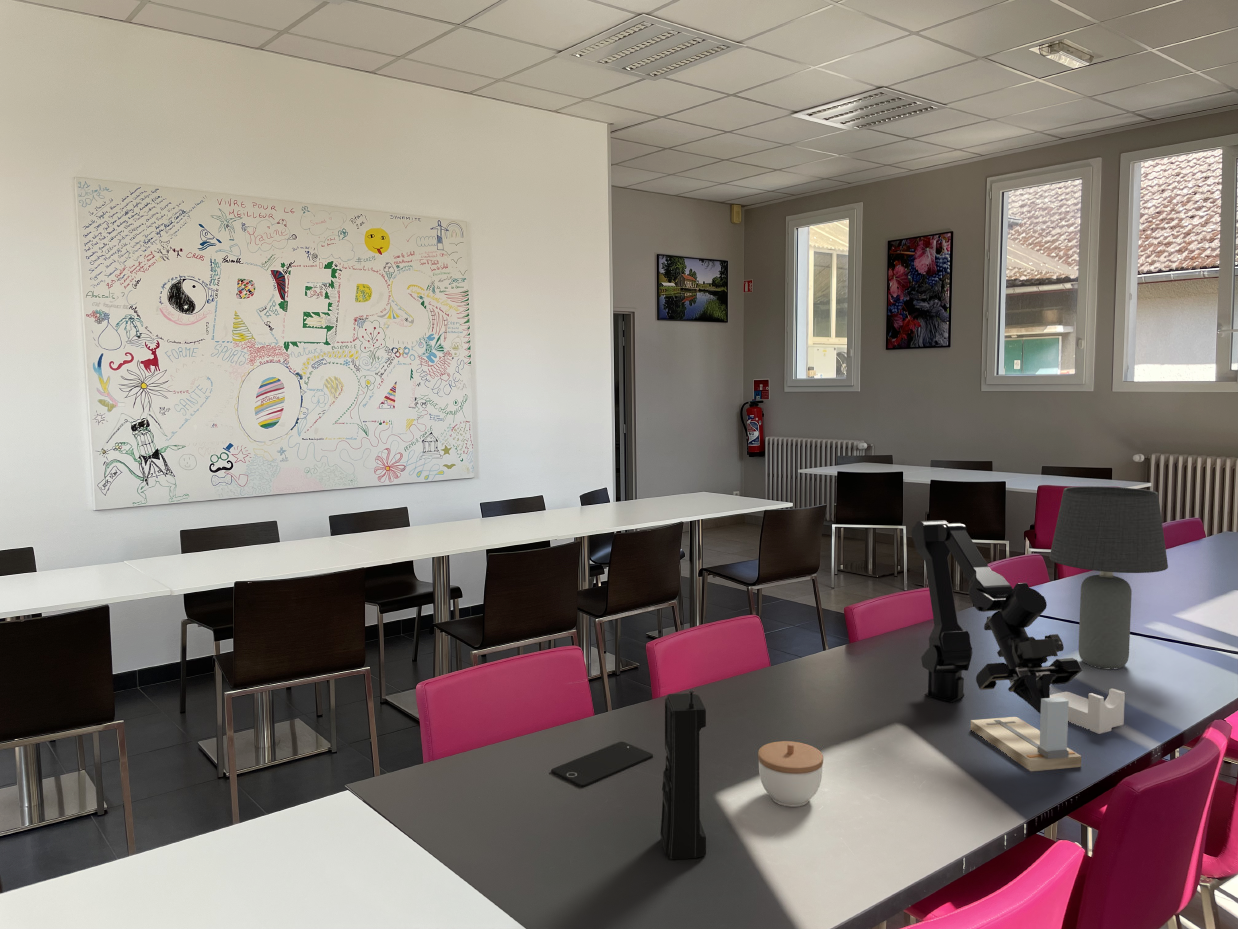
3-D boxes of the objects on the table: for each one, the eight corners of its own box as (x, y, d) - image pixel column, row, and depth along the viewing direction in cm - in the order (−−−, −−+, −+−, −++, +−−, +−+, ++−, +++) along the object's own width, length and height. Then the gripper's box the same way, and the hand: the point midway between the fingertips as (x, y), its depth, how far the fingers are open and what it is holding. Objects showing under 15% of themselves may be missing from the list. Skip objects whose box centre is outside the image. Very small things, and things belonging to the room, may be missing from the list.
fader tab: (1037, 752, 156) (1039, 697, 155) (1057, 750, 157) (1059, 696, 156) (1048, 759, 153) (1050, 703, 152) (1068, 757, 154) (1070, 702, 153)
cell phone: (549, 774, 155) (549, 769, 155) (621, 745, 168) (621, 740, 167) (582, 790, 149) (582, 785, 149) (654, 759, 161) (654, 754, 161)
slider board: (970, 730, 172) (970, 719, 172) (1016, 726, 174) (1016, 716, 174) (1030, 771, 153) (1031, 760, 153) (1081, 766, 155) (1081, 755, 155)
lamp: (1182, 667, 208) (1191, 491, 205) (1131, 689, 194) (1139, 500, 191) (1078, 643, 229) (1084, 483, 225) (1025, 660, 215) (1031, 490, 211)
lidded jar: (754, 783, 150) (754, 731, 149) (816, 784, 150) (816, 731, 149) (762, 813, 139) (762, 758, 138) (829, 814, 139) (829, 758, 138)
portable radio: (658, 833, 133) (657, 676, 131) (697, 831, 134) (696, 675, 132) (665, 861, 126) (664, 694, 123) (706, 858, 126) (706, 693, 124)
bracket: (1123, 729, 173) (1124, 692, 172) (1099, 735, 170) (1100, 698, 169) (1066, 707, 184) (1067, 673, 184) (1042, 712, 182) (1043, 678, 181)
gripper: (986, 621, 158) (1022, 701, 148) (1077, 616, 161) (1118, 694, 152) (961, 650, 167) (993, 727, 157) (1048, 644, 170) (1085, 720, 160)
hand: (1048, 716), depth 156 cm, fingers closed
